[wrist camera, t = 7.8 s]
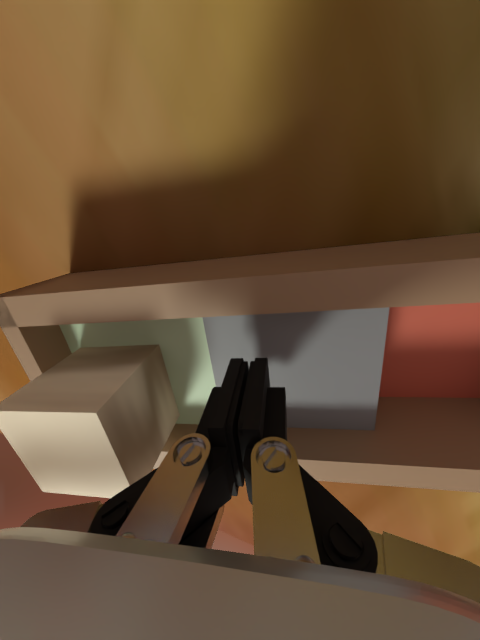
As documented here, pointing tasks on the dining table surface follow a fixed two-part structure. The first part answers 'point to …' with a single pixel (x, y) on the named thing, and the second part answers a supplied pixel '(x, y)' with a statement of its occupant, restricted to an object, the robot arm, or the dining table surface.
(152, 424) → the birch block
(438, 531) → the dining table surface
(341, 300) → the track
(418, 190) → the dining table surface
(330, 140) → the dining table surface
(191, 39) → the dining table surface
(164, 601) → the robot arm
